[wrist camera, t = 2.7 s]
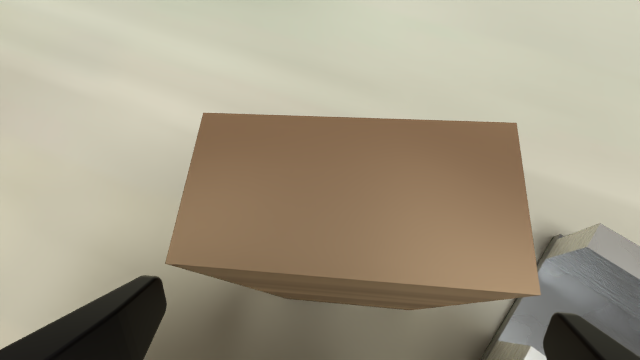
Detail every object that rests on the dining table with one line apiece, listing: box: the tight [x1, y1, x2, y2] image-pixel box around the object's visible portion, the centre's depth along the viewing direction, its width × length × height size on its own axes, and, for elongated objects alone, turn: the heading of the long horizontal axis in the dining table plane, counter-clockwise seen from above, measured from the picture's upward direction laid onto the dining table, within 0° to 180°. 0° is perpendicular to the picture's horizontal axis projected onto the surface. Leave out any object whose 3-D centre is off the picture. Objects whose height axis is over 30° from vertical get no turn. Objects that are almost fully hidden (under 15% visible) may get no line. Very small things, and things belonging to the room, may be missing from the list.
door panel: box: [165, 113, 541, 310], centre depth 12 cm, size 3×6×12 cm, turn 85°
